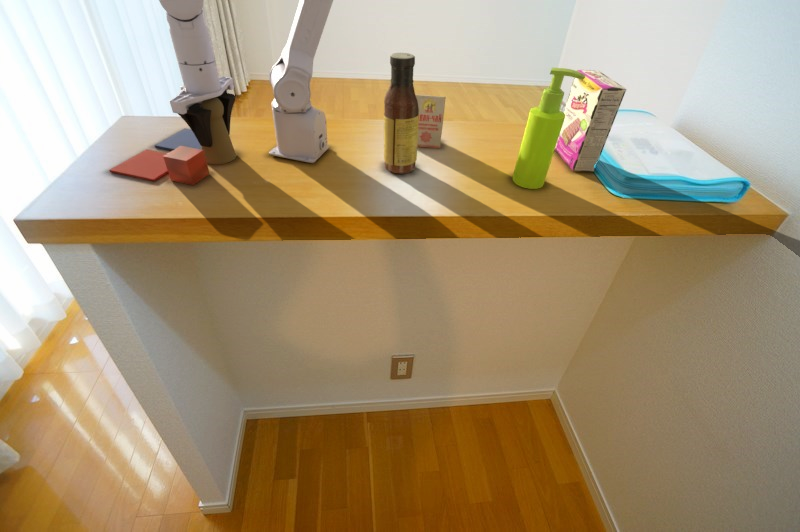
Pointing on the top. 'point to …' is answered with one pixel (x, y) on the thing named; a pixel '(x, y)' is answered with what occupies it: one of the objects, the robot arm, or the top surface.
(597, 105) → the candy bar box
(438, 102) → the beige carton box
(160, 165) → the red mat
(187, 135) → the blue mat
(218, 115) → the cork
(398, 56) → the sauce bottle
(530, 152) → the soap dispenser
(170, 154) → the red block
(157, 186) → the top surface
